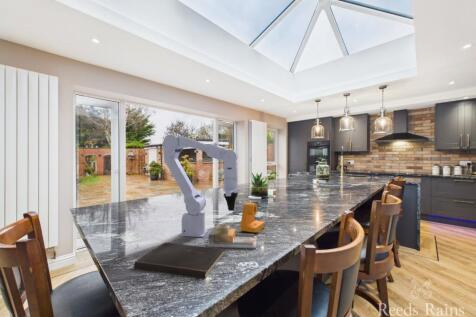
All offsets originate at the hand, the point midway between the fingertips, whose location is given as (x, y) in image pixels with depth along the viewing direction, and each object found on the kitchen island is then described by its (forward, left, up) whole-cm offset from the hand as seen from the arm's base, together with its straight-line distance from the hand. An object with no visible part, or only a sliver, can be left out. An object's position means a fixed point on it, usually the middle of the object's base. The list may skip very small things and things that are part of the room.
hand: (231, 210), depth 94 cm
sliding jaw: (+1, -8, -9) cm, 12 cm away
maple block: (-2, -8, -9) cm, 13 cm away
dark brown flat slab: (-12, -25, -11) cm, 30 cm away
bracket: (+9, +8, -11) cm, 16 cm away
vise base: (+2, -8, -10) cm, 13 cm away
